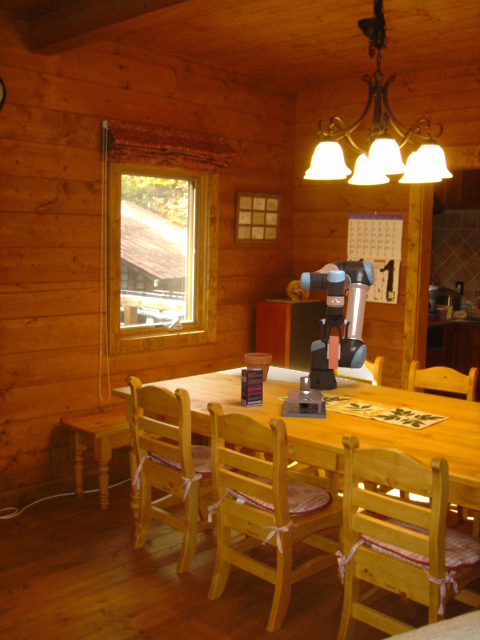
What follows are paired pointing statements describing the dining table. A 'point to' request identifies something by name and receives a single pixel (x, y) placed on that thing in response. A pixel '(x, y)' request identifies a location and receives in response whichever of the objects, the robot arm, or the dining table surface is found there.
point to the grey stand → (304, 402)
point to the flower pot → (258, 362)
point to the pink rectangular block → (333, 352)
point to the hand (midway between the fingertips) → (333, 358)
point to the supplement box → (252, 387)
